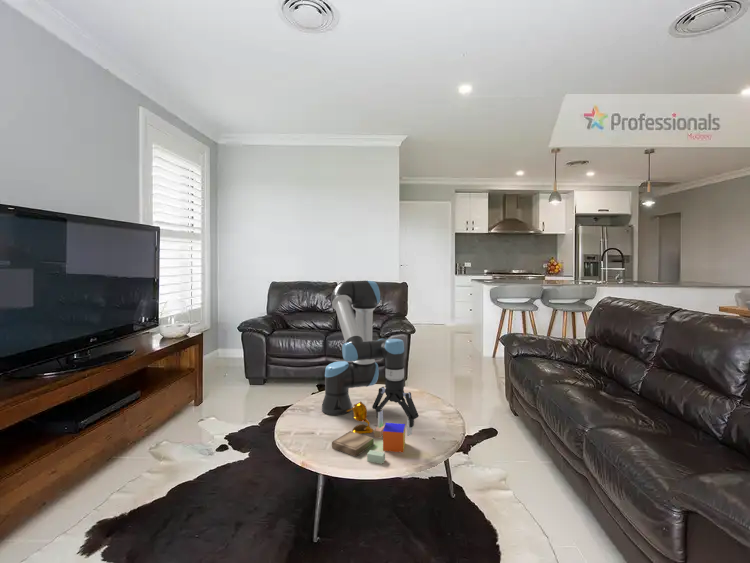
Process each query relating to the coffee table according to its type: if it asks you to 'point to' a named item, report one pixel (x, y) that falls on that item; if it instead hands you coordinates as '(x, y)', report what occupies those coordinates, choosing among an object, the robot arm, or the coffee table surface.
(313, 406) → the coffee table surface
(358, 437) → the walnut slab
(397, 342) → the robot arm
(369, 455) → the sage brick
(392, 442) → the cube
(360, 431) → the figurine
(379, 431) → the terracotta brick
